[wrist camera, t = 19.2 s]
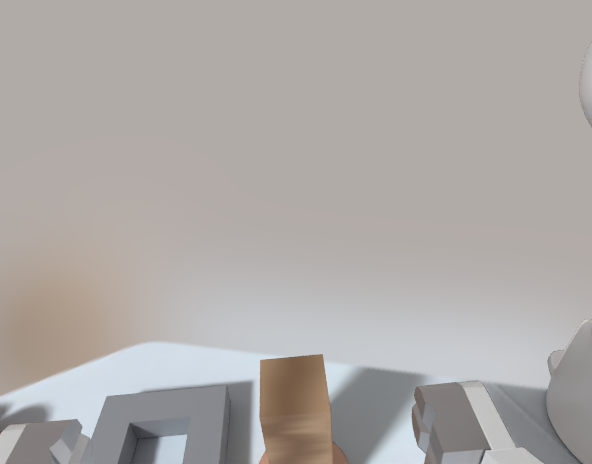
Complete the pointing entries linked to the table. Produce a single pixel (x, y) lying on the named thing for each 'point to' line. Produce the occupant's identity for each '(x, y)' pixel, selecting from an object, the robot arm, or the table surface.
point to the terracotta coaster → (337, 456)
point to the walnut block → (295, 410)
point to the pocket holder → (164, 423)
